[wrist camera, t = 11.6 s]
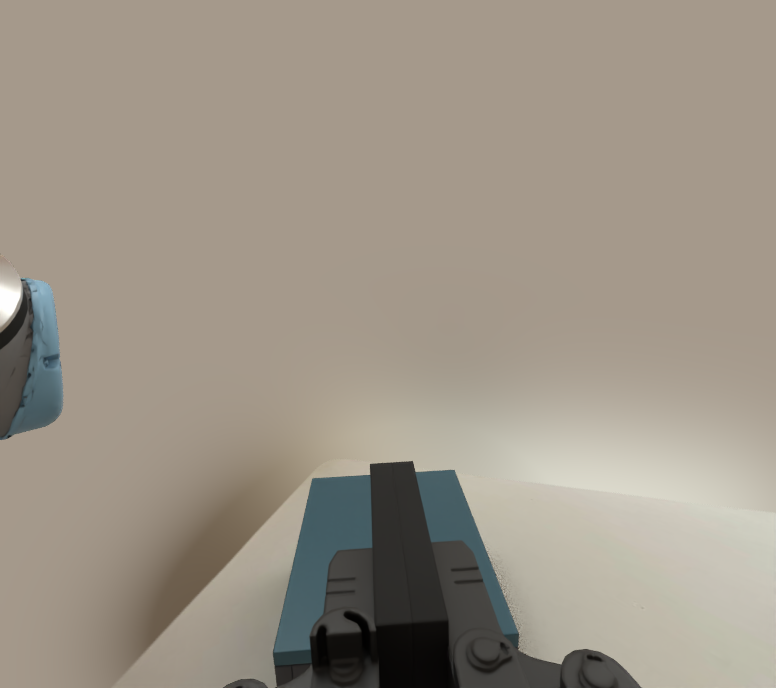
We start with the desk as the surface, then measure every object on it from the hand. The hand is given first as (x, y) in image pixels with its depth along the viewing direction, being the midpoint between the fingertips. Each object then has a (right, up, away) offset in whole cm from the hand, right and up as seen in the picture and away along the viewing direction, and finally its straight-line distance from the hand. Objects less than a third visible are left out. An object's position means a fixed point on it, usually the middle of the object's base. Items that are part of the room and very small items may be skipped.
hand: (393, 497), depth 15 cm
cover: (0, -8, +13) cm, 15 cm away
